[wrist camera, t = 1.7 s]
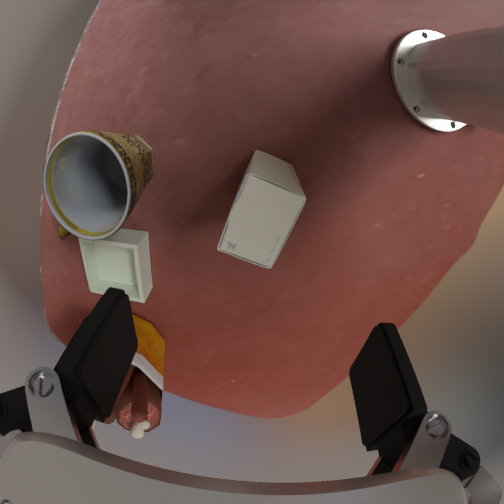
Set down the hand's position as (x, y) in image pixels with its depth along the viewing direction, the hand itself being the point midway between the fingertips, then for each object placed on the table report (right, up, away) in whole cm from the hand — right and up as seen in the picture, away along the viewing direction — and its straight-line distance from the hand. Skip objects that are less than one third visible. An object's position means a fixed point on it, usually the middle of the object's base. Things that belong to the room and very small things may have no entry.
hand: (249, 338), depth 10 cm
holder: (-18, +2, +25) cm, 31 cm away
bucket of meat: (-19, -10, +33) cm, 39 cm away
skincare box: (+1, +11, +20) cm, 23 cm away
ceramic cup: (-15, +13, +20) cm, 28 cm away
